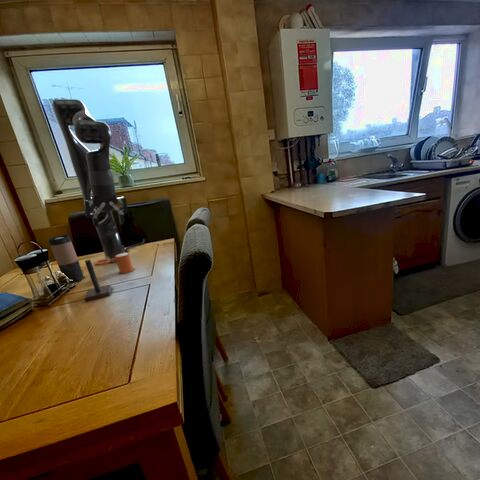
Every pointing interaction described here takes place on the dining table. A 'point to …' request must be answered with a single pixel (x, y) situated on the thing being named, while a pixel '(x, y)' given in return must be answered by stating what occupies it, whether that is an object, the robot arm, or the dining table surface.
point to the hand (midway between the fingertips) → (109, 225)
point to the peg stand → (96, 285)
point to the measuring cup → (119, 262)
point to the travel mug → (66, 257)
